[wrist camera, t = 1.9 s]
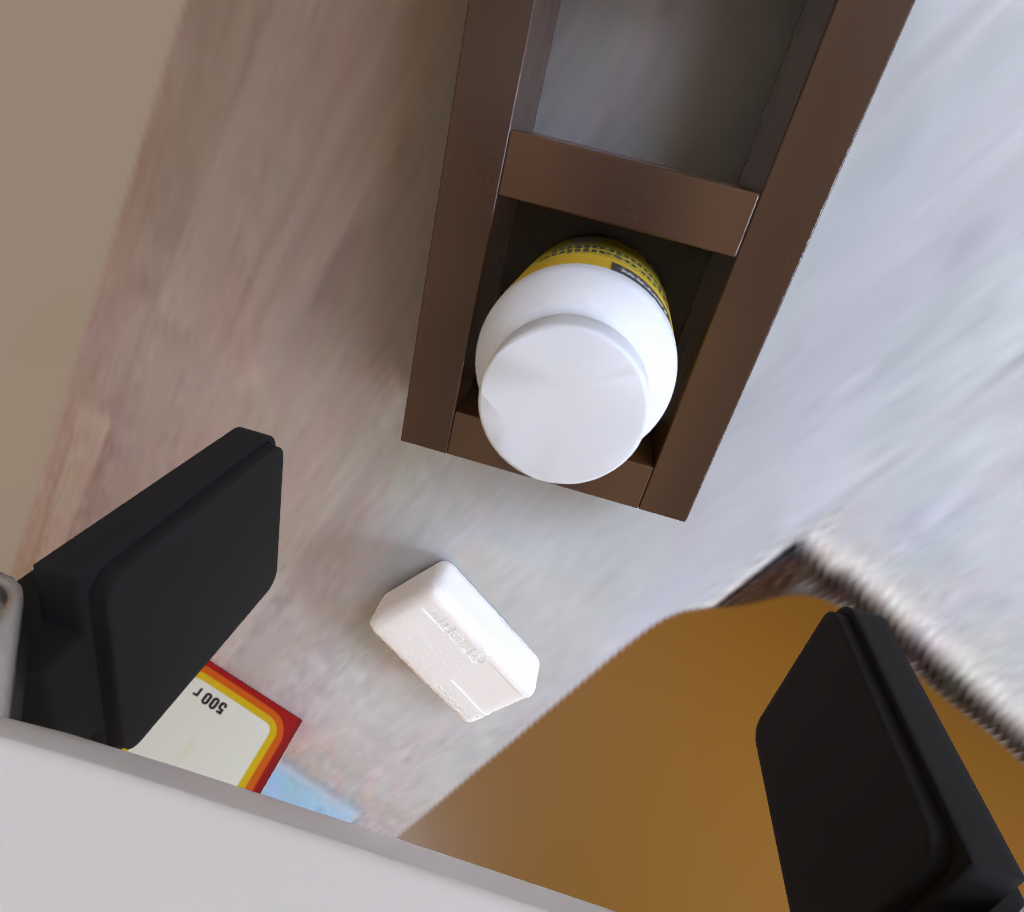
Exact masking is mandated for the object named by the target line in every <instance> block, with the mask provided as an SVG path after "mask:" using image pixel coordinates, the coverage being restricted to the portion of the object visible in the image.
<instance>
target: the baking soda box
mask: <svg viewBox="0 0 1024 912" xmlns="http://www.w3.org/2000/svg"><path fill="white" fill-rule="evenodd" d="M301 722H302V720H301V719H299V718H298V717H296V716H294V715H293V714H291V713H290V712H288V711H287V710H285V709H284V708H282V707H280V706H279V705H277V704H276V703H274V702H273V701H271V700H270V699H268V698H266V697H265V696H263V695H262V694H260V693H259V692H257V691H256V690H254V689H253V688H251V687H249V686H248V685H246V684H245V683H243V682H242V681H240V680H239V679H237V678H235V677H234V676H232V675H231V674H229V673H228V672H226V671H225V670H223V669H221V668H220V667H218V666H217V665H215V664H214V663H212V662H211V661H208V662H207V664H206V665H205V666H204V667H203V668H202V669H201V671H200V672H199V673H198V674H197V675H196V677H195V678H194V679H193V680H192V681H191V682H190V684H189V685H188V686H187V687H186V688H185V690H184V691H183V692H182V693H181V694H180V695H179V697H178V698H177V699H176V700H175V701H174V703H173V704H172V705H171V706H170V707H169V708H168V710H167V711H166V712H165V713H164V714H163V716H162V717H161V718H160V719H159V720H158V721H157V723H156V724H155V725H154V726H153V727H152V729H151V730H150V731H149V732H148V733H147V734H146V736H145V737H144V738H143V739H142V740H141V741H140V742H139V743H138V744H137V745H136V746H135V747H133V748H132V749H129V750H127V749H124V748H122V750H124V751H127V752H130V753H134V754H137V755H140V756H143V757H147V758H150V759H153V760H157V761H160V762H163V763H166V764H170V765H173V766H176V767H179V768H183V769H186V770H189V771H192V772H195V773H198V774H201V775H204V776H207V777H210V778H213V779H216V780H219V781H222V782H225V783H229V784H232V785H235V786H238V787H241V788H244V789H247V790H250V791H253V792H256V793H259V794H260V793H261V791H262V790H263V788H264V786H265V785H266V783H267V781H268V779H269V778H270V776H271V774H272V772H273V771H274V769H275V767H276V765H277V764H278V762H279V760H280V758H281V757H282V755H283V753H284V752H285V750H286V748H287V746H288V745H289V743H290V741H291V739H292V738H293V736H294V734H295V732H296V731H297V729H298V727H299V726H300V724H301Z"/></svg>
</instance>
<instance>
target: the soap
mask: <svg viewBox="0 0 1024 912" xmlns="http://www.w3.org/2000/svg"><path fill="white" fill-rule="evenodd" d="M370 626H371V628H372V630H373V631H374V632H375V633H376V634H377V635H378V636H379V637H380V638H381V639H382V640H383V641H384V642H385V643H386V644H387V645H388V646H389V647H390V648H391V649H392V650H393V651H394V652H395V653H396V654H397V655H398V656H399V657H400V658H401V659H402V660H403V661H404V662H405V663H406V664H407V665H408V666H409V667H410V668H411V669H412V670H413V671H414V672H415V673H416V674H417V675H418V676H419V678H421V679H422V680H423V681H424V682H425V683H426V684H427V685H428V686H429V687H430V688H431V689H432V690H433V691H434V692H435V693H436V694H437V695H438V696H439V697H440V698H441V699H442V700H443V701H444V702H445V703H446V704H447V705H448V706H449V707H450V708H451V709H452V710H453V711H454V712H455V713H456V714H457V715H458V716H459V717H460V718H461V719H462V720H463V721H465V722H473V721H476V720H478V719H480V718H482V717H485V716H487V715H489V714H490V713H491V712H494V711H496V710H498V709H501V708H503V707H505V706H507V705H510V704H512V703H514V702H517V701H519V700H521V699H524V698H528V697H530V696H531V695H532V694H533V693H534V691H535V687H536V681H537V676H538V670H539V660H538V658H537V656H536V655H535V654H534V653H533V652H532V651H531V649H530V648H529V647H528V646H527V645H526V644H525V643H524V642H523V641H522V640H521V638H520V637H519V636H518V635H517V634H516V633H515V632H514V631H513V630H512V629H511V628H510V626H509V625H508V624H507V623H506V622H505V621H504V620H503V619H502V618H501V617H500V615H499V614H498V613H497V612H496V611H495V610H494V609H493V608H492V607H491V606H490V605H489V604H488V602H487V601H486V600H485V599H484V598H483V597H482V596H481V595H480V594H479V593H478V591H477V590H476V589H475V588H474V587H473V586H472V585H471V584H470V583H469V582H468V581H467V579H466V578H465V577H464V576H463V575H462V574H461V573H460V572H459V571H458V569H457V568H456V567H455V566H454V565H453V564H452V563H450V562H448V561H441V562H439V563H437V564H435V565H433V566H432V567H430V568H428V569H426V570H425V571H423V572H421V573H420V574H418V575H416V576H415V577H413V578H411V579H410V580H408V581H406V582H404V583H403V584H401V585H399V586H398V587H396V588H394V589H393V590H391V591H389V592H388V593H386V594H385V595H384V596H383V598H382V599H381V601H380V603H379V605H378V607H377V608H376V610H375V612H374V614H373V616H372V618H371V621H370Z"/></svg>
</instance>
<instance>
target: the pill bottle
mask: <svg viewBox="0 0 1024 912" xmlns="http://www.w3.org/2000/svg"><path fill="white" fill-rule="evenodd" d="M475 366H476V376H477V382H478V386H479V396H478V408H479V415H480V419H481V423H482V426H483V429H484V431H485V434H486V436H487V438H488V440H489V442H490V443H491V445H492V446H493V448H494V449H495V450H496V451H497V453H498V454H499V455H500V456H501V457H502V458H503V459H504V460H505V461H506V462H507V463H508V464H510V465H511V466H513V467H514V468H515V469H517V470H518V471H520V472H522V473H524V474H526V475H528V476H530V477H532V478H534V479H538V480H541V481H545V482H550V483H556V484H577V483H583V482H587V481H591V480H595V479H597V478H600V477H602V476H604V475H606V474H608V473H610V472H611V471H613V470H615V469H616V468H617V467H619V466H620V465H621V464H623V463H624V462H625V461H626V460H627V459H628V458H629V457H630V456H631V455H632V454H633V452H634V451H635V450H636V448H637V447H638V445H639V443H640V441H641V439H642V438H643V437H644V436H645V435H647V434H648V433H649V432H650V431H651V430H652V428H653V427H654V426H655V425H656V424H657V422H658V421H659V420H660V418H661V417H662V415H663V414H664V412H665V410H666V408H667V406H668V404H669V402H670V400H671V397H672V394H673V391H674V387H675V382H676V376H677V350H676V343H675V337H674V332H673V327H672V321H671V316H670V310H669V305H668V300H667V295H666V292H665V288H664V285H663V283H662V280H661V278H660V276H659V274H658V272H657V271H656V269H655V267H654V266H653V265H652V263H651V262H650V261H649V260H648V259H647V257H645V256H644V255H643V254H642V253H641V252H640V251H639V250H637V249H636V248H635V247H633V246H631V245H630V244H628V243H626V242H624V241H621V240H619V239H616V238H613V237H609V236H603V235H581V236H576V237H572V238H568V239H565V240H563V241H561V242H559V243H557V244H555V245H553V246H551V247H550V248H548V249H547V250H545V251H544V252H543V253H542V254H541V255H539V256H538V257H537V258H536V260H535V261H534V262H533V263H532V264H531V265H530V266H529V267H528V268H527V269H526V270H525V271H524V272H523V273H522V274H521V275H520V276H519V277H518V278H517V279H516V281H515V282H514V283H513V284H512V285H511V286H510V287H509V288H508V289H507V290H506V291H505V292H504V293H503V294H502V296H501V297H500V298H499V299H498V301H497V302H496V303H495V305H494V306H493V307H492V309H491V311H490V312H489V314H488V316H487V317H486V319H485V322H484V324H483V326H482V329H481V332H480V335H479V338H478V343H477V348H476V360H475Z"/></svg>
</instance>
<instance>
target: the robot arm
mask: <svg viewBox="0 0 1024 912" xmlns="http://www.w3.org/2000/svg"><path fill="white" fill-rule="evenodd" d="M282 469H283V451H282V449H281V448H280V447H277V446H276V445H275V441H274V438H273V437H272V436H269V435H266V434H262V433H259V432H256V431H252V430H249V429H246V428H242V427H237V428H235V429H233V430H231V431H230V432H228V433H227V434H225V435H224V436H223V437H221V438H220V439H218V440H217V441H215V442H214V443H212V444H211V445H209V446H208V447H206V448H205V449H203V450H202V451H200V452H199V453H197V454H196V455H195V456H193V457H192V458H190V459H189V460H187V461H186V462H184V463H183V464H181V465H180V466H178V467H177V468H175V469H174V470H172V471H171V472H170V473H168V474H167V475H165V476H164V477H162V478H161V479H159V480H158V481H156V482H155V483H153V484H152V485H150V486H149V487H147V488H146V489H144V490H143V491H142V492H140V493H139V494H137V495H136V496H134V497H133V498H131V499H130V500H128V501H127V502H125V503H124V504H122V505H121V506H119V507H118V508H116V509H115V510H114V511H112V512H111V513H109V514H108V515H106V516H105V517H103V518H102V519H100V520H99V521H97V522H96V523H94V524H93V525H91V526H90V527H88V528H87V529H86V530H84V531H83V532H81V533H80V534H78V535H77V536H75V537H74V538H72V539H71V540H69V541H68V542H66V543H65V544H63V545H62V546H61V547H59V548H58V549H56V550H55V551H53V552H52V553H50V554H49V555H47V556H46V557H44V558H43V559H41V560H40V561H38V562H37V563H35V564H34V565H33V567H34V570H33V571H31V572H30V573H28V574H27V575H25V576H24V577H22V578H21V579H19V580H18V581H16V580H15V579H14V578H13V577H11V576H9V575H6V574H4V573H1V572H0V912H615V911H612V910H609V909H606V908H604V907H601V906H598V905H595V904H591V903H588V902H585V901H582V900H579V899H576V898H573V897H571V896H568V895H564V894H561V893H559V892H556V891H553V890H550V889H547V888H544V887H541V886H538V885H534V884H532V883H529V882H526V881H522V880H519V879H517V878H514V877H511V876H508V875H505V874H502V873H499V872H496V871H493V870H490V869H487V868H484V867H481V866H478V865H475V864H472V863H469V862H466V861H463V860H460V859H457V858H454V857H450V856H448V855H445V854H442V853H439V852H436V851H433V850H430V849H427V848H424V847H421V846H417V845H415V844H412V843H408V842H405V841H402V840H399V839H396V838H393V837H390V836H387V835H384V834H381V833H378V832H375V831H372V830H369V829H366V828H363V827H360V826H357V825H354V824H351V823H348V822H345V821H342V820H339V819H336V818H333V817H330V816H327V815H323V814H320V813H317V812H314V811H311V810H308V809H305V808H302V807H299V806H296V805H293V804H290V803H287V802H284V801H281V800H278V799H274V798H271V797H268V796H265V795H262V794H259V793H256V792H253V791H250V790H247V789H244V788H241V787H238V786H235V785H232V784H229V783H225V782H222V781H219V780H216V779H213V778H210V777H207V776H204V775H201V774H198V773H195V772H192V771H189V770H186V769H183V768H179V767H176V766H173V765H170V764H166V763H163V762H160V761H157V760H153V759H150V758H147V757H143V756H140V755H137V754H134V753H130V752H127V751H124V750H122V748H124V749H127V750H129V749H132V748H133V747H135V746H136V745H137V744H138V743H139V742H140V741H141V740H142V739H143V738H144V737H145V736H146V734H147V733H148V732H149V731H150V730H151V729H152V727H153V726H154V725H155V724H156V723H157V721H158V720H159V719H160V718H161V717H162V716H163V714H164V713H165V712H166V711H167V710H168V708H169V707H170V706H171V705H172V704H173V703H174V701H175V700H176V699H177V698H178V697H179V695H180V694H181V693H182V692H183V691H184V690H185V688H186V687H187V686H188V685H189V684H190V682H191V681H192V680H193V679H194V678H195V677H196V675H197V674H198V673H199V672H200V671H201V669H202V668H203V667H204V666H205V665H206V664H207V662H208V661H209V660H210V659H211V658H212V656H213V655H214V654H215V653H216V652H217V651H218V649H219V648H220V647H221V646H222V645H223V643H224V642H225V641H226V640H227V639H228V638H229V636H230V635H231V634H232V633H233V632H234V630H235V629H236V628H237V627H238V626H239V625H240V623H241V622H242V621H243V620H244V619H245V617H246V616H247V615H248V614H249V613H250V612H251V610H252V609H253V608H254V607H255V606H256V604H257V603H258V602H259V601H260V600H261V599H262V597H263V596H264V595H265V594H266V593H267V592H268V590H269V589H270V587H271V585H272V584H273V581H274V579H275V576H276V572H277V559H278V541H279V523H280V505H281V487H282ZM756 746H757V750H758V756H759V760H760V765H761V771H762V775H763V780H764V785H765V790H766V795H767V800H768V805H769V810H770V815H771V820H772V825H773V830H774V835H775V839H776V844H777V849H778V854H779V859H780V864H781V869H782V874H783V879H784V884H785V889H786V894H787V898H788V903H789V908H790V912H1024V899H1023V897H1022V895H1021V893H1020V891H1019V889H1018V886H1019V885H1020V884H1022V883H1023V882H1024V875H1023V873H1022V872H1021V870H1020V868H1019V866H1018V864H1017V863H1016V860H1015V859H1014V857H1013V855H1012V853H1011V851H1010V849H1009V848H1008V846H1007V844H1006V842H1005V840H1004V838H1003V836H1002V834H1001V832H1000V831H999V829H998V827H997V825H996V823H995V821H994V819H993V818H992V816H991V814H990V812H989V810H988V808H987V806H986V805H985V803H984V801H983V799H982V797H981V795H980V793H979V792H978V790H977V788H976V786H975V784H974V782H973V780H972V779H971V777H970V775H969V773H968V771H967V769H966V768H965V766H964V764H963V762H962V760H961V758H960V756H959V754H958V752H957V751H956V749H955V747H954V745H953V743H952V741H951V740H950V738H949V736H948V734H947V732H946V730H945V728H944V726H943V725H942V723H941V721H940V719H939V717H938V715H937V713H936V712H935V710H934V708H933V706H932V704H931V703H930V700H929V699H928V697H927V695H926V693H925V691H924V689H923V687H922V685H921V684H920V682H919V680H918V678H917V676H916V674H915V672H914V671H913V669H912V667H911V665H910V663H909V661H908V659H907V658H906V656H905V654H904V652H903V650H902V648H901V646H900V645H899V643H898V641H897V639H896V637H895V635H894V633H893V632H892V630H891V628H890V626H889V624H888V623H887V621H886V620H885V619H884V618H882V617H880V616H877V615H873V614H870V613H867V612H863V611H860V610H857V609H853V608H850V607H842V608H840V609H839V610H838V611H837V612H836V613H835V612H828V613H827V614H825V615H824V617H823V618H822V620H821V622H820V623H819V624H818V626H817V628H816V629H815V631H814V632H813V634H812V636H811V637H810V639H809V641H808V642H807V644H806V645H805V647H804V649H803V650H802V652H801V654H800V655H799V657H798V658H797V660H796V661H795V663H794V665H793V666H792V668H791V669H790V671H789V673H788V674H787V676H786V677H785V679H784V681H783V682H782V684H781V685H780V687H779V689H778V690H777V692H776V693H775V695H774V697H773V698H772V700H771V702H770V703H769V705H768V706H767V708H766V709H765V711H764V713H763V715H762V716H761V717H760V719H759V722H758V724H757V728H756Z"/></svg>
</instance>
